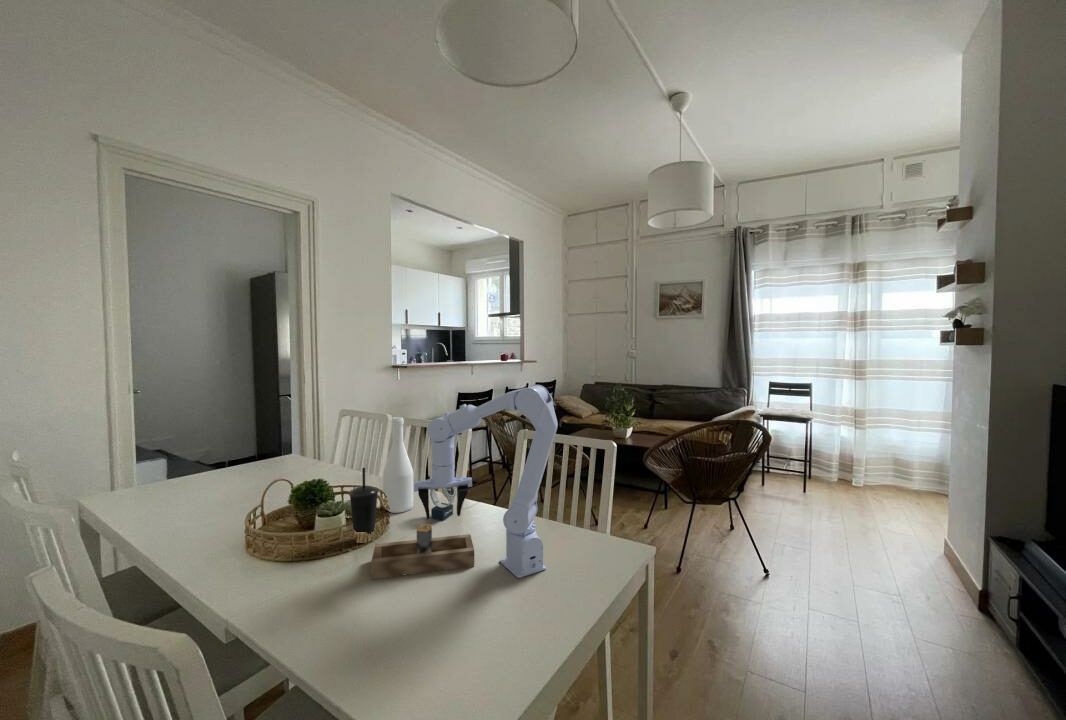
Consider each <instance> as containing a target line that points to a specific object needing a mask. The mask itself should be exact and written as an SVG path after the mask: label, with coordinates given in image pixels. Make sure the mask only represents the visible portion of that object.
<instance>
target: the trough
mask: <svg viewBox="0 0 1066 720" xmlns="http://www.w3.org/2000/svg"><path fill="white" fill-rule="evenodd" d="M473 543H474V542H473V540H472V536H471V534H470V533H468V534H461V535H460V534H459V535H450V536H448V535H447V536H440V537H432V552H428V553H420V554H417V539H413V540H411V539H410V540H409V539H408V540H402V541H401V540H400V541H391V542H382V543H375V544H374V548H373V553H372V555H371V556H372V558H371V559H370V578H371V580H377V578H378V579H385V578H384V577H386V578H391V577H390V576H394V577H398V576H397V575H403V576H405V575H404V574H411V575H414V574H413V573H419V574H421V573H420V572H427V573H432V572H433V571H435V572H440V571H439V570H443V571H447V570H446V569H451V570H458V569H457V568H459V569H467V568H474V567H475V548H474V544H473Z"/></svg>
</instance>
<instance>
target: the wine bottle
mask: <svg viewBox="0 0 1066 720" xmlns="http://www.w3.org/2000/svg"><path fill="white" fill-rule="evenodd" d="M404 424H405V421H404V418H403V417H402V416H395V417H392V420H391V425H392V440H391V441H392V444H391V447H390V451H389V453H388V456H387V460H386V463H385V465H384V469H383V472H382V493H383V492H384V493H385V495H386V496H387V500H388V503H389V507H390V512H391V513H390V514H399V513H405V512H407V511H409V510H411V509H412V508H413V506H414V469H413V467H412V466H413V465H412V463H411V461H410V458H409V456H408V452H407V449H406V446H405V442H404Z"/></svg>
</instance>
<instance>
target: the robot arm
mask: <svg viewBox="0 0 1066 720" xmlns="http://www.w3.org/2000/svg"><path fill="white" fill-rule="evenodd" d="M506 409H508V410H510V411H514V412H515V411H519V413H520V414H522V415H523V416H524V417H526V418H527V419H528V420H529V421H530V423H531V424H532V426H533V427H534V435H533V437H532V441H531V443H530V444H531V445H530V448H529V452H528V454H527V458H526V461H525V465H524V467H523V468H524V469H523V470H522V475H521V478H520V481H519V484H518V487H517V491H516V493H515V495H514V497H513V500H512V501H511V505H510V507H509V508H508V509H507V510H506V511H505V513H504V514H503V518H502V519H503V521H502V522H503V526H504V527H505V529H506V530H505V531H506V532H505V533H506V535H505V536H506V537H505V539H506V540H505V541H506V544H505V545H506V547H505V549H506V554H505V555H506V556H505V557H502V558H499V562H500V563H501V564H502V565H503V566H504V567H505V569H506V568H507V570H508V571H509V572H510V573H512V574H513V576H515V577H516V578H518V579H521V578H524V577H526V576H529V575H532V574H536V573H539V572H541V571H544V570H546V569H547V566H546V565H545V564H544V544H543V541H542V539H541V538H540V537H539V536H538V534H537V528H536V526H537V525H536V523H535V521H534V518H535V517H536V515H537V513H538V509H539V508H538V503H537V502H538V498H539V497H538V496H539V489H540V486H541V483H542V480H543V476H544V472H545V469H546V466H547V463H548V460H549V456H550V453H551V450H552V446H553V444H554V440H555V437H556V433H557V431H558V425H559V424H558V419H557V415H556V412H555V411H556V410H555V408H554V399H553V397H552V394H550V393H549V390H548V389H547V388H546V387H545V386H543V385H541V384H532V385H531V386H529V387H524V388H523V387H522V388H519V389H515V390H512V391H508V392H505V393H504V394H501V395H499V396H497V397H495V398H493V399H491V400H488V401H487V402H485V403H482V404H481V405H478V406H475V405H473V404H468V405H467V404H466V403H464V404H461V405H459V409H456V410H454V411H451V412H449V411H446V412H444V413H443V416H441V417H437V418H436V417H435V418H434V419H433V420H431V421H430V422H429V424H428V425H427V428H426V432H427V435H428V437H429V438H430V439H431V445H430V446H431V478H429V479H423V480H418V481H413V493H414V492H418V497H419V500H420V501H421V503H422V505H423V508H424V511H425V515H426V520H430V518H431V516H430V515H431V514H430V507H429V506H430V501H429V500H430V499H429V497H430V493H429V492H430V489H435V490H439V489H441V490H442V488H453V487H454V488H456V494H457V495H456V497H457V498H456V514H457V515H456V516H457V517H460V516H461V514H462V513H461V511H462V507H463V505H464V501H465V499H466V497H467V495H468V492H469V488H470V487H471V488H472V487H473V479H472V477H471V476H470V477H469V476H468V477H457V476H456V477H455V436H456V435H459V434H462V433H464V432H466V431H468V430H471V429H473V428H476V427H478V426H479V425H480V423H481V420H482V419H483V418H486V417H488V416H491V415H493V414H495V413H498V412H501V411H504V410H506Z"/></svg>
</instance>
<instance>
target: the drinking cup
mask: <svg viewBox="0 0 1066 720" xmlns="http://www.w3.org/2000/svg"><path fill="white" fill-rule="evenodd" d="M361 476H362V485H360V486H357V487H354V488H353V489H351V490H350V491H348V496H349V498H350V508H351V519H352V527H353V531H354V530H355V531H356V532H367V533H368V534H369V533H370V534H371V532H373V531H374V532H375V529H374V528H375V526H376V517H377V516H376V515H377V504H378V503H377V502H378V494H379V490H380V489H379V488H378V487H376V486H373V485H366V467H362V475H361Z"/></svg>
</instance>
